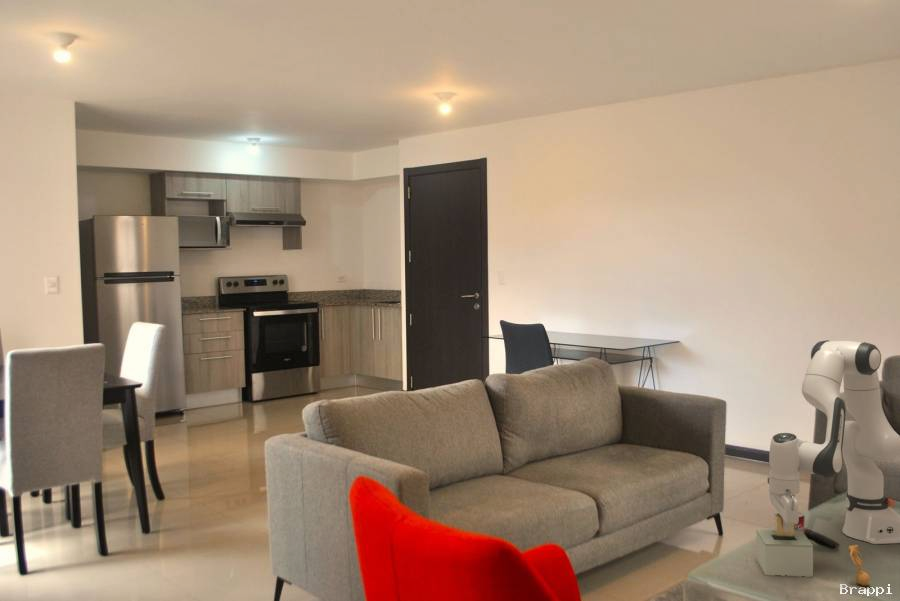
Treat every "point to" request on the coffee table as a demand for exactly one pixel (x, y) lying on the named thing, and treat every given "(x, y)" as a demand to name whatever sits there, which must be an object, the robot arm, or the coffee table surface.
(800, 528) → the soda can
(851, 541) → the coffee table surface
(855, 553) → the figurine
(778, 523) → the tan rectangular block
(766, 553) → the coin box
